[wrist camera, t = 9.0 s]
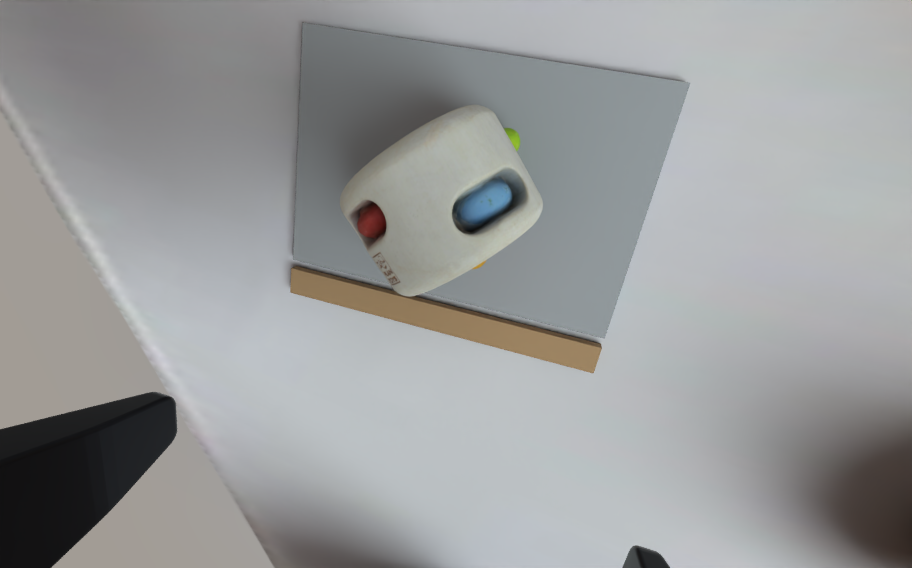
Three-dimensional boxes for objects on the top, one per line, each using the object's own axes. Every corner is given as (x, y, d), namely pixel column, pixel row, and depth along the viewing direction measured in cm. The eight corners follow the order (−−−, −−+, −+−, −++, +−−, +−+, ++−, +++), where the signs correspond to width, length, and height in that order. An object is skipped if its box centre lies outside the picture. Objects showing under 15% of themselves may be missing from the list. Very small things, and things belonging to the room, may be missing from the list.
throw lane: (592, 368, 18) (593, 373, 17) (295, 289, 20) (290, 292, 20) (687, 84, 14) (691, 82, 14) (306, 24, 16) (301, 21, 16)
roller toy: (562, 208, 16) (564, 241, 10) (427, 283, 18) (371, 342, 13) (503, 101, 15) (473, 77, 10) (370, 193, 17) (286, 214, 12)
